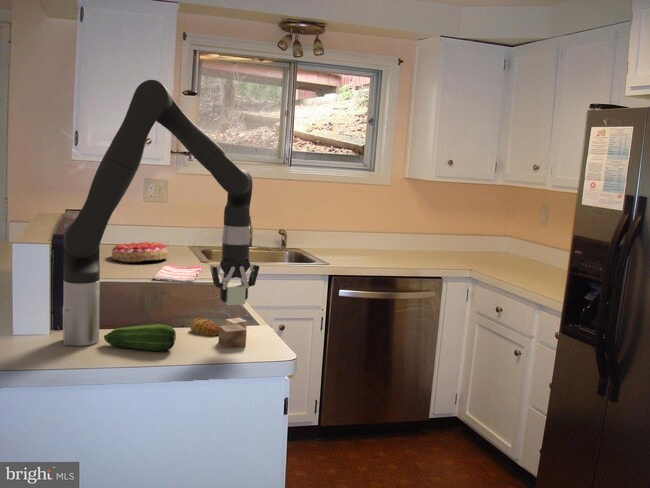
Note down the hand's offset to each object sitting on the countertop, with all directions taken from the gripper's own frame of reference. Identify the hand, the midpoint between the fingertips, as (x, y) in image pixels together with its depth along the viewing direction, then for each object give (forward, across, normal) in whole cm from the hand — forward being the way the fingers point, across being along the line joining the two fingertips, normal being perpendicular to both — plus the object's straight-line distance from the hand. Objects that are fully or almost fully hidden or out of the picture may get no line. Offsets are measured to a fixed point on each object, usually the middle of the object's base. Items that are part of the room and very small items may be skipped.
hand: (233, 301), depth 186 cm
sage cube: (0, 0, 0) cm, 0 cm away
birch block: (+13, +4, +9) cm, 16 cm away
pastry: (+13, -4, +14) cm, 20 cm away
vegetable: (+13, -25, +3) cm, 29 cm away
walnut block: (+13, 0, 0) cm, 13 cm away
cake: (+13, -2, +134) cm, 134 cm away
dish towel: (+13, +7, +95) cm, 96 cm away
